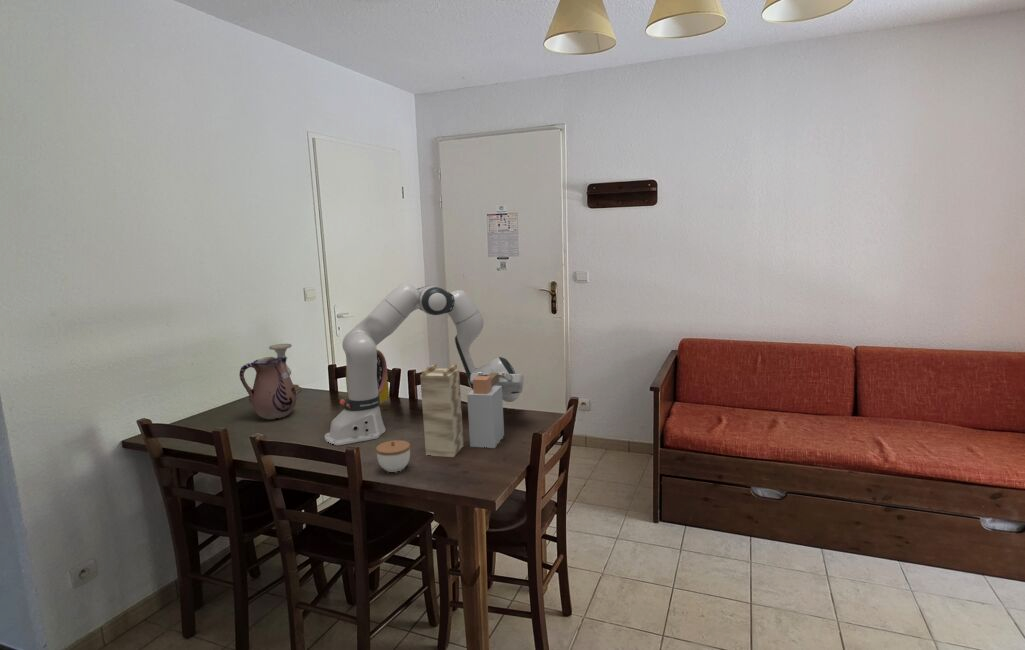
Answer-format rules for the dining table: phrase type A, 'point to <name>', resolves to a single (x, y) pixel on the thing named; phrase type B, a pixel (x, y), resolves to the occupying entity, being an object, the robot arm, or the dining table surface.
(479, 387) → the orange brown rectangular bar
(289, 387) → the ceramic pitcher
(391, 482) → the dining table surface
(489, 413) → the pedestal
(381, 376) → the alarm clock
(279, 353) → the candle holder
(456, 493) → the dining table surface
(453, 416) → the beige wooden block tower
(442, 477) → the dining table surface
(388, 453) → the lidded jar
